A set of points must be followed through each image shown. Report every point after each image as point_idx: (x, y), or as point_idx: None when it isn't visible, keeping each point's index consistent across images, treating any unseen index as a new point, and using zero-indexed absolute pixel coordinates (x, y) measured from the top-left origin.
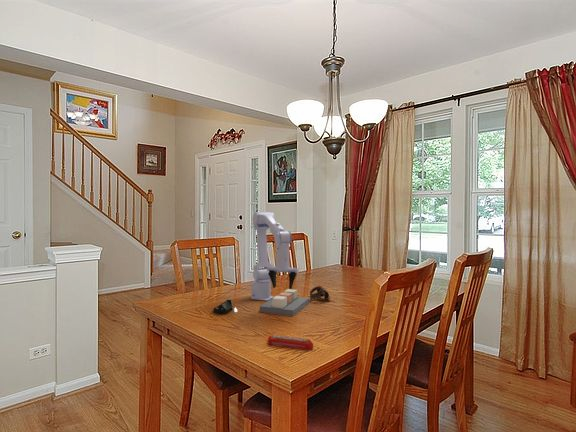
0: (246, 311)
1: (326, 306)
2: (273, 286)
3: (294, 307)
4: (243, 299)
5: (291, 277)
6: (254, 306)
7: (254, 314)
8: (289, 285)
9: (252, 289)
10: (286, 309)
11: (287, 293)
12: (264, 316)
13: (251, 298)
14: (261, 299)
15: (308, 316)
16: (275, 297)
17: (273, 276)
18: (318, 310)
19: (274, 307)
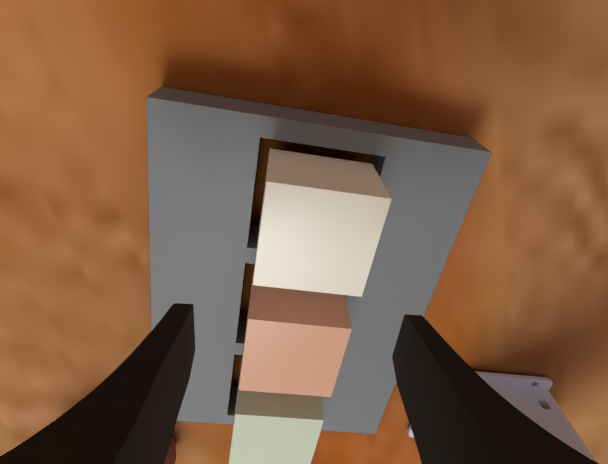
0: (581, 120)
1: (26, 362)
2: (422, 323)
3: (172, 194)
4: (595, 362)
5: (56, 447)
6: (518, 251)
7: (510, 53)
8: (172, 333)
9: (575, 440)
10: (222, 114)
11: (278, 375)
12: (414, 15)
13: (546, 378)
14: (479, 374)
15: (37, 119)
16: (363, 235)
17: (488, 453)
18: (35, 277)
19: (349, 149)
